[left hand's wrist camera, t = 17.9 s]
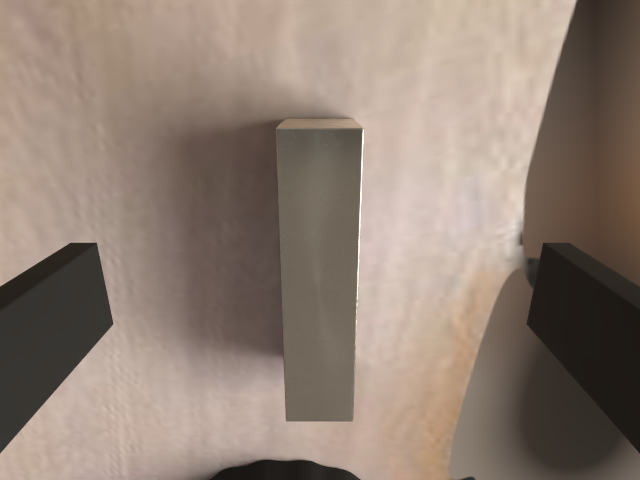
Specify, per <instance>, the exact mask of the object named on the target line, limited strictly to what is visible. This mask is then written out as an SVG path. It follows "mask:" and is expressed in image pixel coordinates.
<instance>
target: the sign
mask: <svg viewBox="0 0 640 480" xmlns="http://www.w3.org/2000/svg"><path fill="white" fill-rule="evenodd" d="M211 480H360V479H358V478H357V477H356V476H355V475H353V474H352V473H350V472H348V471H345V470H341V469H336V468H329V467H324V466H321V465H319V464H317V463H314V462H310V461H293V462H280V461H271V460H265V461H260V462H257V463H254V464H251V465H248V466H244V467H236V468H230V469H226V470H223V471H221V472H220V473H218V474H217V475H216V476H215V477H213V478H212V479H211Z"/></svg>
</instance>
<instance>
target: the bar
mask: <svg viewBox="0 0 640 480" xmlns="http://www.w3.org/2000/svg"><path fill="white" fill-rule="evenodd" d="M275 132H276V159H277V187H278V214H279V242H280V270H281V297H282V325H283V352H284V380H285V407H286V421H353V411H354V384H355V357H356V330H357V303H358V276H359V250H360V223H361V196H362V169H363V142H364V128H363V127H362V126H361V125H360V124H358V123H357V122H356V121H355V120H354V119H285V120H284V121H283V122H282V123H281V124H280V125H279V126H278V127H277V128H276V129H275Z"/></svg>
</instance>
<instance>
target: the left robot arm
mask: <svg viewBox="0 0 640 480" xmlns="http://www.w3.org/2000/svg"><path fill="white" fill-rule="evenodd" d="M112 325H113V320H112V315H111V310H110V305H109V301H108V296H107V291H106V286H105V281H104V276H103V271H102V266H101V261H100V256H99V252H98V247H97V243H70V244H68V245H67V246H65V247H63V248H62V249H60V250H58V251H57V252H55V253H54V254H52V255H50V256H49V257H47V258H46V259H44V260H42V261H41V262H39V263H38V264H36V265H34V266H33V267H31V268H30V269H28V270H26V271H25V272H23V273H21V274H20V275H18V276H17V277H15V278H13V279H12V280H10V281H9V282H7V283H5V284H4V285H2V286H1V287H0V453H1V452H2V451H3V450H4V448H5V447H6V446H7V445H8V444H9V443H10V442H11V440H12V439H13V438H14V437H15V436H16V435H17V434H18V432H19V431H20V430H21V429H22V428H23V427H24V426H25V424H26V423H27V422H28V421H29V420H30V419H31V418H32V416H33V415H34V414H35V413H36V412H37V411H38V410H39V408H40V407H41V406H42V405H43V404H44V403H45V402H46V400H47V399H48V398H49V397H50V396H51V395H52V394H53V392H54V391H55V390H56V389H57V388H58V387H59V386H60V384H61V383H62V382H63V381H64V380H65V379H66V378H67V376H68V375H69V374H70V373H71V372H72V371H73V370H74V368H75V367H76V366H77V365H78V364H79V363H80V362H81V360H82V359H83V358H84V357H85V356H86V355H87V354H88V352H89V351H90V350H91V349H92V348H93V347H94V346H95V344H96V343H97V342H98V341H99V340H100V339H101V338H102V336H103V335H104V334H105V333H106V332H107V331H108V330H109V328H110V327H111V326H112ZM527 325H528V326H529V327H530V328H531V330H532V331H533V332H534V333H535V334H536V335H537V336H538V338H539V339H540V340H541V341H542V342H543V343H544V344H545V346H546V347H547V348H548V349H549V350H550V351H551V352H552V354H553V355H554V356H555V357H556V358H557V359H558V360H559V362H560V363H561V364H562V365H563V366H564V367H565V368H566V370H567V371H568V372H569V373H570V374H571V375H572V376H573V378H574V379H575V380H576V381H577V382H578V383H579V384H580V386H581V387H582V388H583V389H584V390H585V391H586V392H587V393H588V395H589V396H590V397H591V398H592V399H593V400H594V402H595V403H596V404H597V405H598V406H599V407H600V408H601V410H602V411H603V412H604V413H605V414H606V415H607V416H608V418H609V419H610V420H611V421H612V422H613V423H614V424H615V426H616V427H617V428H618V429H619V430H620V431H621V432H622V433H623V435H624V436H625V437H626V438H627V439H628V440H629V442H630V443H631V444H632V445H633V446H634V447H635V448H636V450H637V451H638V452H639V453H640V287H639V286H638V285H636V284H635V283H633V282H631V281H630V280H628V279H627V278H625V277H623V276H622V275H620V274H619V273H617V272H615V271H614V270H612V269H610V268H609V267H607V266H606V265H604V264H602V263H601V262H599V261H598V260H596V259H594V258H593V257H591V256H590V255H588V254H586V253H585V252H583V251H581V250H580V249H578V248H577V247H575V246H573V245H572V244H570V243H543V247H542V252H541V256H540V261H539V266H538V271H537V276H536V281H535V286H534V291H533V296H532V301H531V305H530V310H529V315H528V320H527Z"/></svg>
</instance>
